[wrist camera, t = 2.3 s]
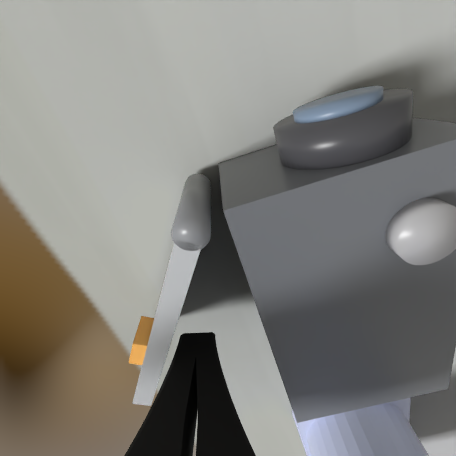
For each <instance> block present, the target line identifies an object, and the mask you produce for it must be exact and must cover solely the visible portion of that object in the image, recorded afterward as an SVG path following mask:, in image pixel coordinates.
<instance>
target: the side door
mask: <svg viewBox="0 0 456 456" xmlns="http://www.w3.org/2000/svg"><path fill="white" fill-rule="evenodd" d="M171 236H172V239H173V241H174V244H173V248H172V252H171V256H170V259H169V263H168V267H167V271H166V275H165V279H164V282H163V286H162V290H161V294H160V298H159V302H158V305H157V309H156V313H155V317H154V318H149V317H144V316H141V320H140V323H139V326H138V329H137V332H136V335H135V339H134V342H133V346H132V350H131V354H130V359H129V363H132V364H138V365H142V368H141V372H140V376H139V380H138V384H137V387H136V391H135V395H134V399H133V404H141V405H149V406H150V405H151V404H152V400H153V397H154V394H155V391H156V388H157V385H158V382H159V379H160V376H161V372H162V369H163V366H164V363H165V360H166V357H167V354H168V351H169V347H170V344H171V341H172V338H173V335H174V332H175V329H176V325H177V322H178V319H179V316H180V313H181V310H182V307H183V304H184V300H185V297H186V294H187V291H188V288H189V285H190V282H191V278H192V275H193V272H194V269H195V266H196V263H197V260H198V257H199V253H200V250H201V249H202V248H204V247H205V246H206V245H207V244H208V243H209V241H210V238H211V183H210V181H209V179H208V178H207V177H206V176H204V175H202V174H193V175H191V176H190V177H188V179H187V180H186V182H185V186H184V189H183V193H182V196H181V199H180V203H179V206H178V210H177V213H176V217H175V220H174V223H173V227H172V231H171Z"/></svg>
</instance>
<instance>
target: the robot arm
mask: <svg viewBox="0 0 456 456" xmlns="http://www.w3.org/2000/svg"><path fill="white" fill-rule="evenodd" d="M410 403H411V398H406V399H402V400H397V401H393V402H388V403H384V404H379V405H375V406H370V407H366V408H361V409H357V410H352V411H348V412H343V413H339V414H335V415H330V416H326V417H321V418H317V419H312V420H308V421H303V422H299V423H297V421H296V418H295V415H294V412H293V410H292V414H293V417H294V420H295V423H296V426H297V429H298V432H299V434H300V437H301V440H302V443H303V446H304V448H305V451H306V454H307V456H429V455H428V453H427V451H426V450H425V448H424V446H423V445H422V443H421V441H420V440H419V438H418V436H417V435H416V433H415V431H414V430H413V428H412V426H411V425H410V423H409V421H410ZM197 410H198V427H197V446H196V456H256V455H255V453H254V451H253V449H252V447H251V445H250V442H249V440H248V438H247V436H246V434H245V431H244V429H243V427H242V424H241V422H240V419H239V417H238V414H237V412H236V409H235V407H234V404H233V402H232V399H231V396H230V393H229V390H228V387H227V384H226V381H225V378H224V375H223V372H222V368H221V365H220V361H219V357H218V352H217V347H216V340H215V334H214V333H212V332H210V333H184V334H182V335H181V336H180V339H179V343H178V346H177V349H176V352H175V355H174V358H173V360H172V363H171V365H170V368H169V370H168V372H167V375H166V377H165V379H164V381H163V384H162V386H161V388H160V390H159V393H158V395H157V397H156V399H155V401H154V403H153V405H152V407H151V409H150V411H149V413H148V415H147V417H146V419H145V421H144V422H143V424H142V426H141V428H140V429H139V431H138V433H137V435H136V437H135V438H134V440H133V442H132V444H131V445H130V447H129V449H128V451H127V452H126V454H125V456H192V455H193V446H194V437H195V428H196V419H197Z"/></svg>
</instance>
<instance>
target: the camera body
mask: <svg viewBox="0 0 456 456" xmlns="http://www.w3.org/2000/svg"><path fill="white" fill-rule="evenodd" d="M412 116H413V91H412V90H410V89H387V90H383V86H370V87H363V88H358V89H353V90H349V91H345V92H341V93H337V94H334V95H330V96H327V97H324V98H321V99H318V100H315V101H312V102H310V103H307V104H305V105H302V106H300V107H298V108H297V109H295V110H294V111H293V115H291V116H289V117H286V118H284V119H283V120H281V121H279V122H278V123H276V124H275V125H274V127H273V128H274V133H275V138H276V142H277V145H274V146H271V147H268V148H265V149H262V150H259V151H256V152H253V153H250V154H247V155H243V156H240V157H237V158H234V159H231V160H228V161H225V162H222V163H219V174H220V184H221V194H222V205H223V212H224V215H225V218H226V220H227V223H228V226H229V229H230V232H231V235H232V238H233V240H234V243H235V246H236V249H237V252H238V255H239V258H240V261H241V263H242V266H243V269H244V272H245V275H246V278H247V281H248V283H249V286H250V289H251V292H252V295H253V298H254V301H255V303H256V306H257V309H258V312H259V315H260V318H261V321H262V324H263V326H264V329H265V332H266V335H267V338H268V341H269V344H270V346H271V349H272V352H273V355H274V358H275V361H276V364H277V366H278V369H279V372H280V375H281V378H282V381H283V384H284V387H285V389H286V392H287V395H288V398H289V401H290V404H291V407H292V409H293V412H294V415H295V418H296V421H297V423H299V422H303V421H308V420H312V419H317V418H321V417H326V416H330V415H335V414H339V413H343V412H348V411H352V410H357V409H361V408H366V407H370V406H375V405H379V404H384V403H388V402H393V401H397V400H402V399H406V398H411V397H415V396H419V395H424V394H428V393H433V392H437V391H442V390H446V389H448V387H449V381H450V375H451V370H452V364H453V358H454V353H455V347H456V123H453V122H445V121H437V120H429V119H421V118H412Z"/></svg>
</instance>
